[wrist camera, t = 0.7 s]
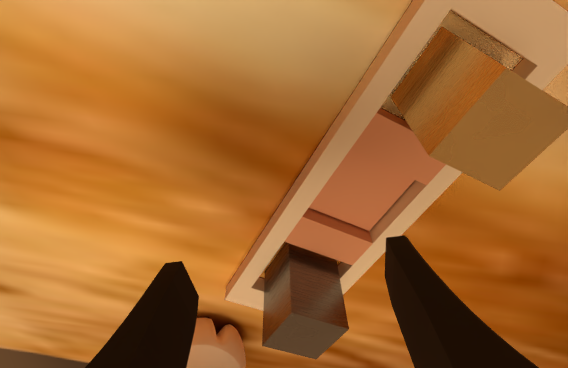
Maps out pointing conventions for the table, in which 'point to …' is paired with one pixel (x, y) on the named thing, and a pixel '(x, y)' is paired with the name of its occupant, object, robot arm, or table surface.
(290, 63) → the table surface
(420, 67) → the brass block
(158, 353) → the robot arm
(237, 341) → the water bottle
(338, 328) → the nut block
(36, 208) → the table surface
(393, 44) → the beige rectangular frame
